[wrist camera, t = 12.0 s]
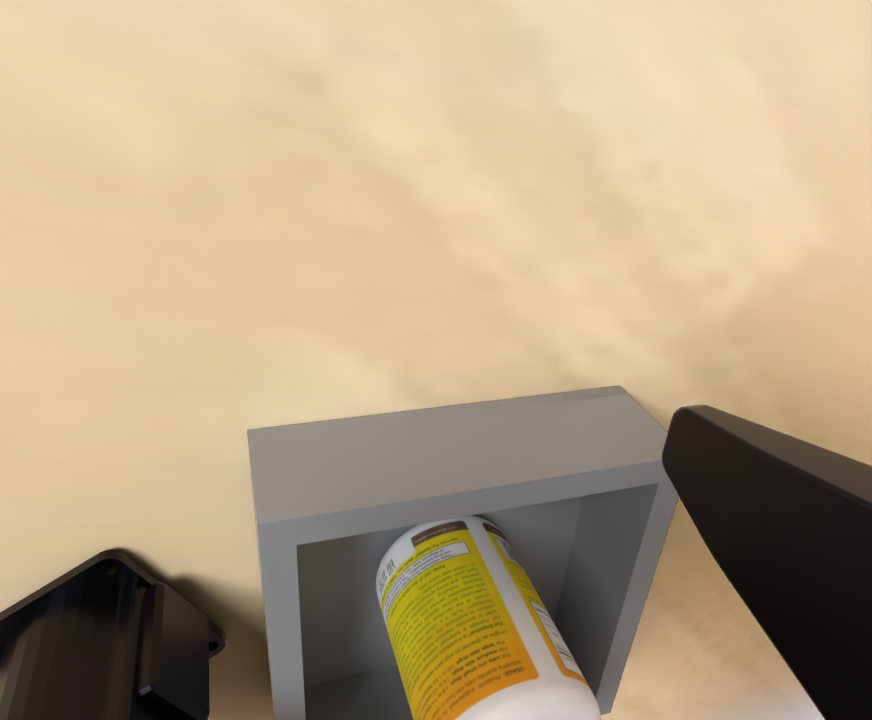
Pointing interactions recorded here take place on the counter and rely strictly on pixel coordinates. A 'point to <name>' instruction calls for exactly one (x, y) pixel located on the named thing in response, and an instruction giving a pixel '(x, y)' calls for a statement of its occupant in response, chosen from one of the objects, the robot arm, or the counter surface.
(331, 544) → the box
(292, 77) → the counter surface
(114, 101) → the counter surface
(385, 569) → the supplement bottle
